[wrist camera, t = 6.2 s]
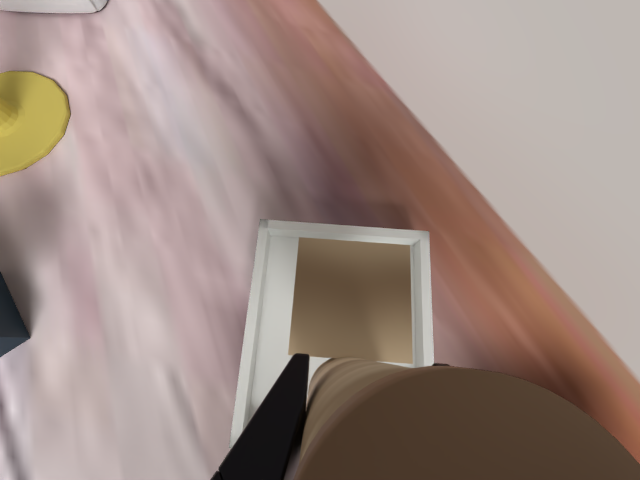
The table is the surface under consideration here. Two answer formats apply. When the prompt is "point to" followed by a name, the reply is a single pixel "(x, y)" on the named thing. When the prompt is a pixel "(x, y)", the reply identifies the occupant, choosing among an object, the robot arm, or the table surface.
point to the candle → (29, 119)
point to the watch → (10, 322)
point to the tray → (277, 300)
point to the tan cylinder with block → (419, 390)
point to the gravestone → (53, 6)
